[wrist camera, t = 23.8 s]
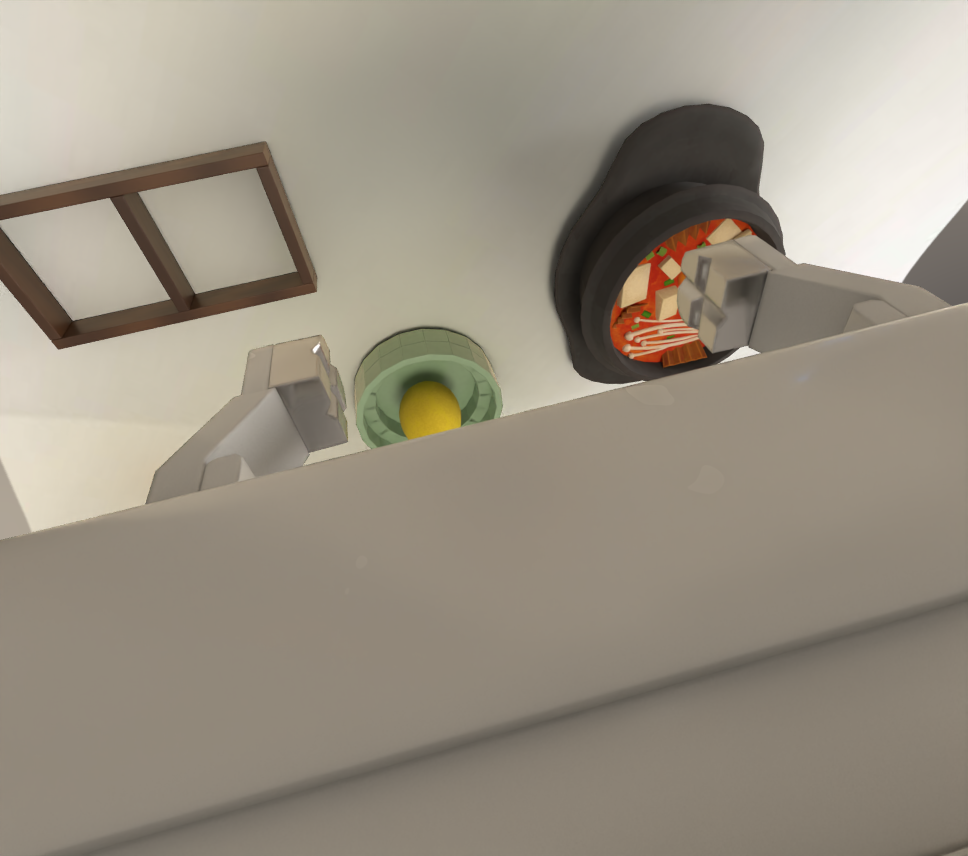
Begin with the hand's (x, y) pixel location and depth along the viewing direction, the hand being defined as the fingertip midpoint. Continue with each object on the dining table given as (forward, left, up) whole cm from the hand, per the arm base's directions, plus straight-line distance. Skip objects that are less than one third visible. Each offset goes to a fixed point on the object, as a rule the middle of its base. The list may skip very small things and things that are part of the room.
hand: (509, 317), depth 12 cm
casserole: (-19, +18, -31) cm, 41 cm away
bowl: (+3, +26, -31) cm, 41 cm away
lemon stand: (+19, +8, -31) cm, 37 cm away
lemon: (+3, +26, -31) cm, 40 cm away
